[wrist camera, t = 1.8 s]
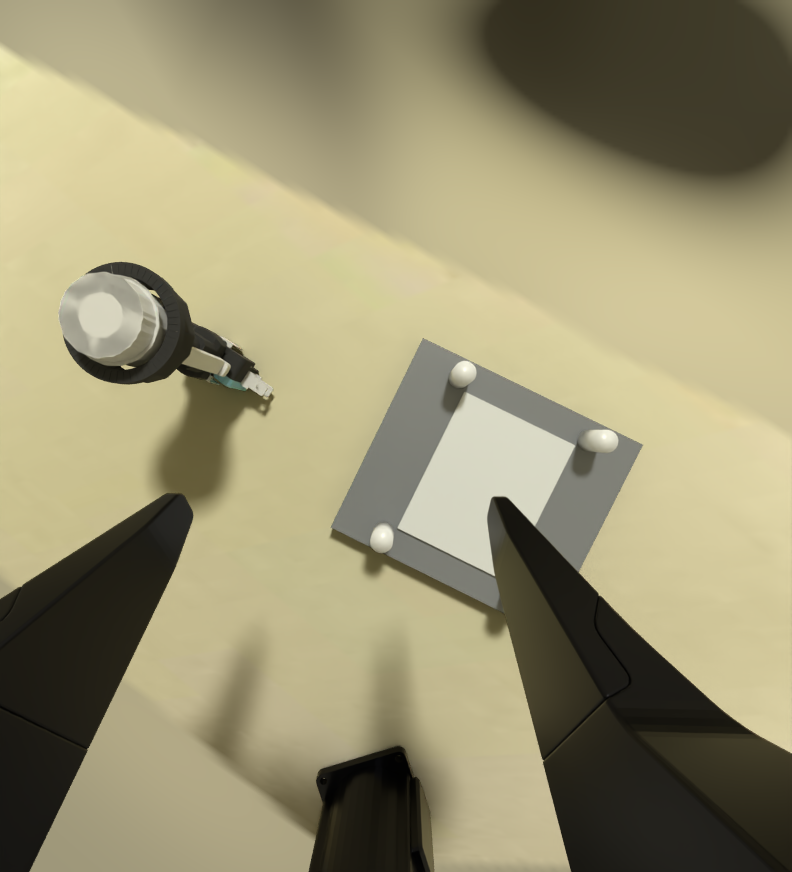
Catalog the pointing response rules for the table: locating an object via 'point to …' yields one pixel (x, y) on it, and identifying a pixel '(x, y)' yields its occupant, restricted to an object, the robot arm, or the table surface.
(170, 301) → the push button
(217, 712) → the table surface
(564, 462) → the mounting base
